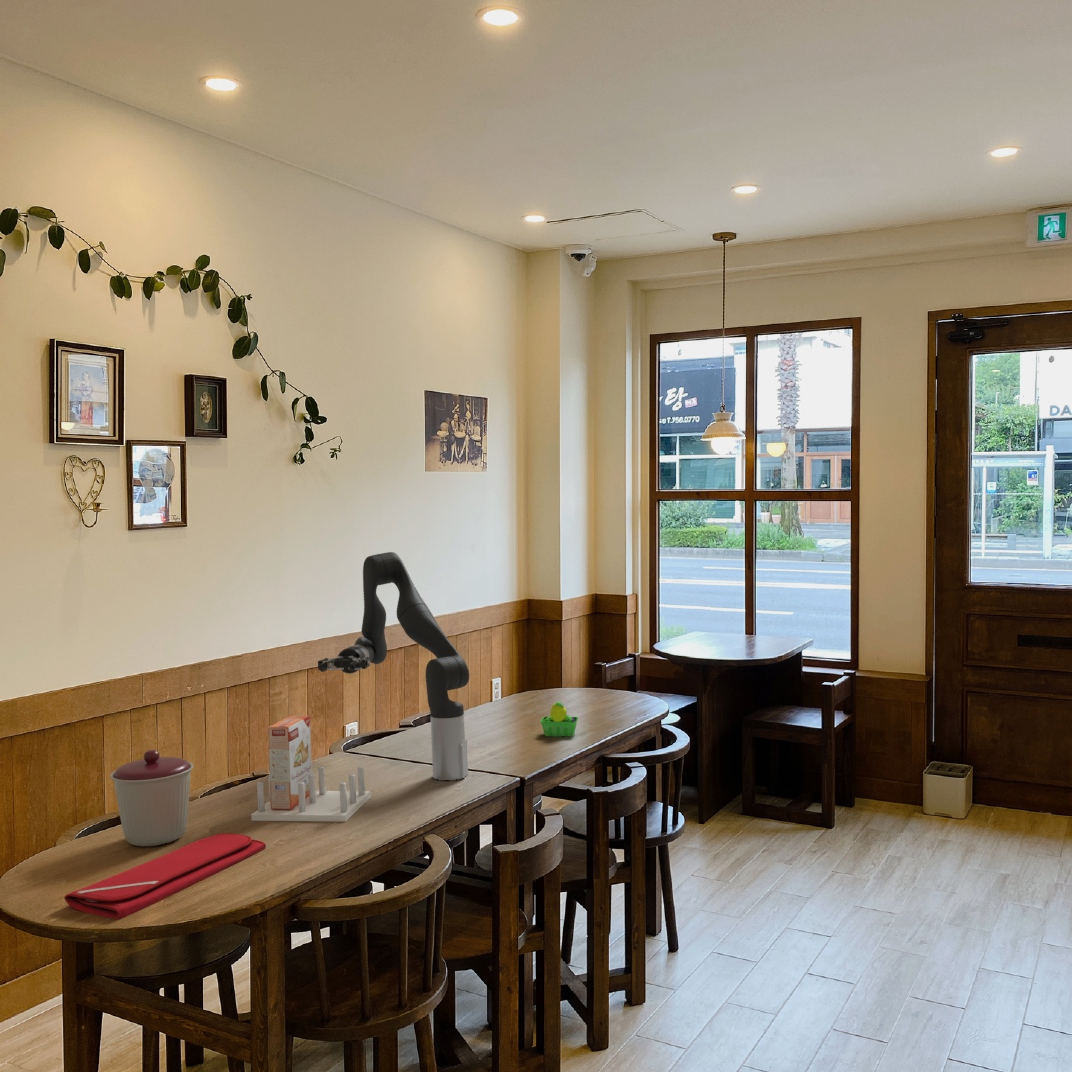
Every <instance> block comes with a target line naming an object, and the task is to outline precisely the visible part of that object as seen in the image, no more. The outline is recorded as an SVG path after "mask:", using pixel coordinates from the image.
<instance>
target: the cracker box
mask: <svg viewBox="0 0 1072 1072" xmlns="http://www.w3.org/2000/svg"><path fill="white" fill-rule="evenodd" d="M267 729H268V730H267V733H268V736H267V737H268V738H267V739H268V740H267V741H268V765H269V775H270V797H271V809H282V810H292V809H293V808H294V807H295V806H297V805H298V804H299V796H298V783H299V782H304V783H305V799H306V798H307V797H309V780H308V775H310V774H312V772H313V771H312V747H311V745H312V744H311V743H312V742H311V738H312V737H311V716H310V715H307V714H305V715H304V714H302V715H301V714H299V715H298V714H297V715H295V714H294V715H293V714H292V715H288V716H287V717H285V718H283V719H281V720H279V721H277V722H275V723H273V724H271V725H269V726H268V727H267Z"/></svg>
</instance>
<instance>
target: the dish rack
mask: <svg viewBox="0 0 1072 1072" xmlns="http://www.w3.org/2000/svg"><path fill="white" fill-rule="evenodd" d="M317 770H318V774H317V775H318V776H317V777H318V790H316V775H315V773H313V774H310V775H308V780H309V797H307V798H306V799H305V783H304V782H299V783H298V796H299V804H298V805H297V806H295V807H294V808H293V809H292V810H282V809H271V797H270V774H268V796H269V801H268V802H266V803H265V786H264V784H265V783H264V781H257V782H256V789H257V791H256V792H257V793H256V796H257V810H256V811H253V813H251V814H250V818H251V819H250V820H251V821H252V822H253V821H254V822H255V821H256V822H257V821H258V822H340V823H341V822H345V823H346V822H347V821H348V820H349V819H350V818H351V817H352V816H353V815H354V814H355V813H357V811H359V809H360V808H361V807H362V806H363V805H364V804H365V803H367V802H368V800H369V799H371V797H372V793H371V790H366V788H365V787H366V785H365V767H364V766H359V767H357V785H358V787H357V786H356V774H348V788H349V789H348V790H347V782H339V784H338V785H339V790H326V776H325V775H326V773H325V767H324V766H319V767H317Z"/></svg>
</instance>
